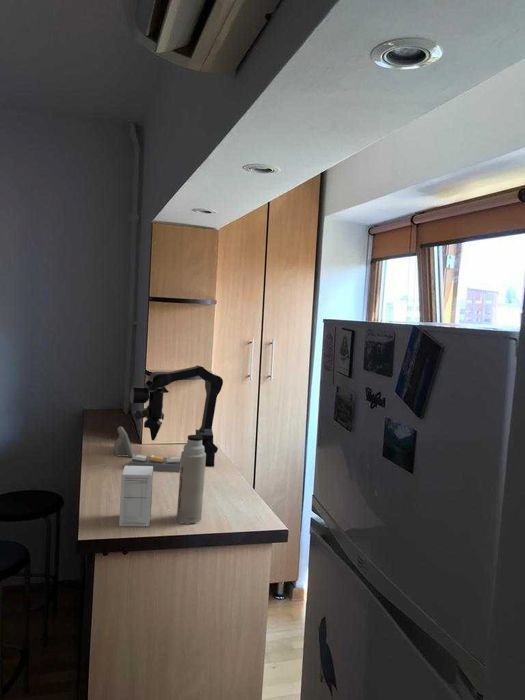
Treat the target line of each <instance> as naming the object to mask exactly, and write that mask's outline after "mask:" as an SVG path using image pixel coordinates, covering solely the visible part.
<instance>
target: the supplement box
mask: <svg viewBox="0 0 525 700" xmlns="http://www.w3.org/2000/svg"><path fill="white" fill-rule="evenodd" d="M153 477H154V471H153V466H131V465H124V468H123V471H122V473H121V480H120V481H121V483H120V484H121V485H120V503H119V517H118V518H119V521H118V526H119V527H145V526H146V527H148V528H149V527H150V524H151V523H150V522H151V516H152V505H153V504H152V503H153V481H154V480H153V479H154V478H153Z"/></svg>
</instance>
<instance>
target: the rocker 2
mask: <svg viewBox="0 0 525 700" xmlns="http://www.w3.org/2000/svg"><path fill="white" fill-rule="evenodd" d="M166 458H167V462H178V461H180V458H181V455H180V456H167V457H166Z"/></svg>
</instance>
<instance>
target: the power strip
mask: <svg viewBox="0 0 525 700" xmlns="http://www.w3.org/2000/svg"><path fill="white" fill-rule="evenodd" d="M145 456H146V455H145ZM162 457H163V461H162V462H159V461H154V460H150V456H146V460H145V461H142V460H136V459H132V458H131V461H130V466H153V472H164V473H177V474H180V466H181V457H180V461H178V462H167V457H166V456H165V457H164V456H162Z"/></svg>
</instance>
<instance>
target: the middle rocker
mask: <svg viewBox="0 0 525 700" xmlns="http://www.w3.org/2000/svg"><path fill="white" fill-rule="evenodd" d="M149 457H150V460H154V461H159V462H162V461H163V457H164V456H159V455H154V454H150V456H149Z"/></svg>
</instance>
